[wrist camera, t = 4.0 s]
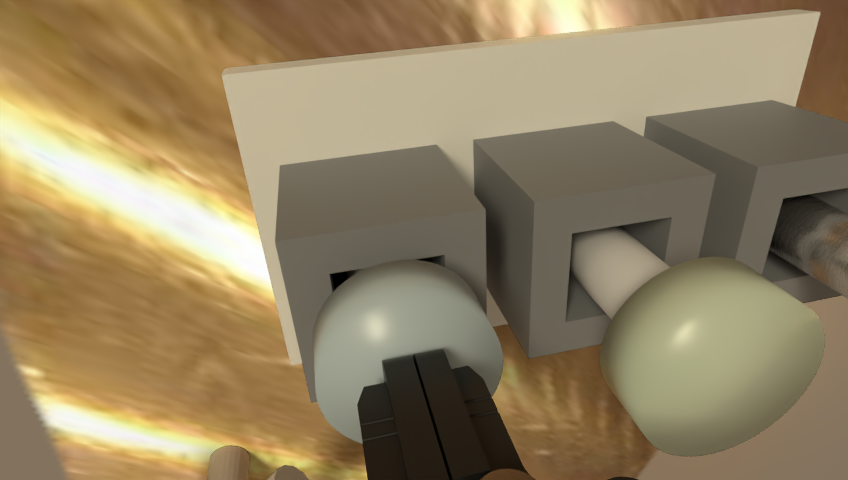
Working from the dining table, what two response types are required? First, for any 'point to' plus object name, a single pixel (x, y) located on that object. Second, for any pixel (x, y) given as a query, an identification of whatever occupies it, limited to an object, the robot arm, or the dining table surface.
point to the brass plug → (814, 240)
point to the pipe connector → (243, 466)
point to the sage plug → (696, 342)
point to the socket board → (534, 163)
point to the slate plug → (396, 332)
